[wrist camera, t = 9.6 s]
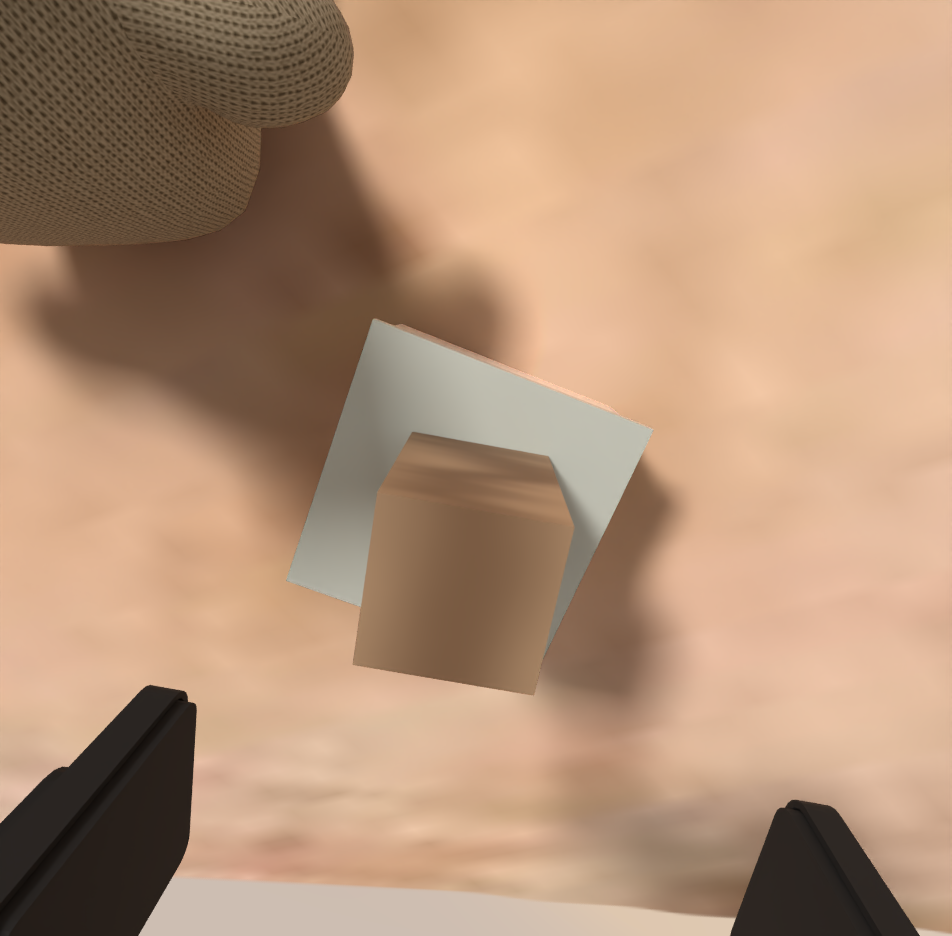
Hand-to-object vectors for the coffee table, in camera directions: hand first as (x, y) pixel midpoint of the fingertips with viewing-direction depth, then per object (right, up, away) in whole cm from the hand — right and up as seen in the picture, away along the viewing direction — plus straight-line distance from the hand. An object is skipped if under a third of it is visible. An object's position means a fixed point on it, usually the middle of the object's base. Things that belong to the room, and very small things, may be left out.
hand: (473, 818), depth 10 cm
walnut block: (0, +4, +13) cm, 14 cm away
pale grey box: (0, +6, +19) cm, 20 cm away
